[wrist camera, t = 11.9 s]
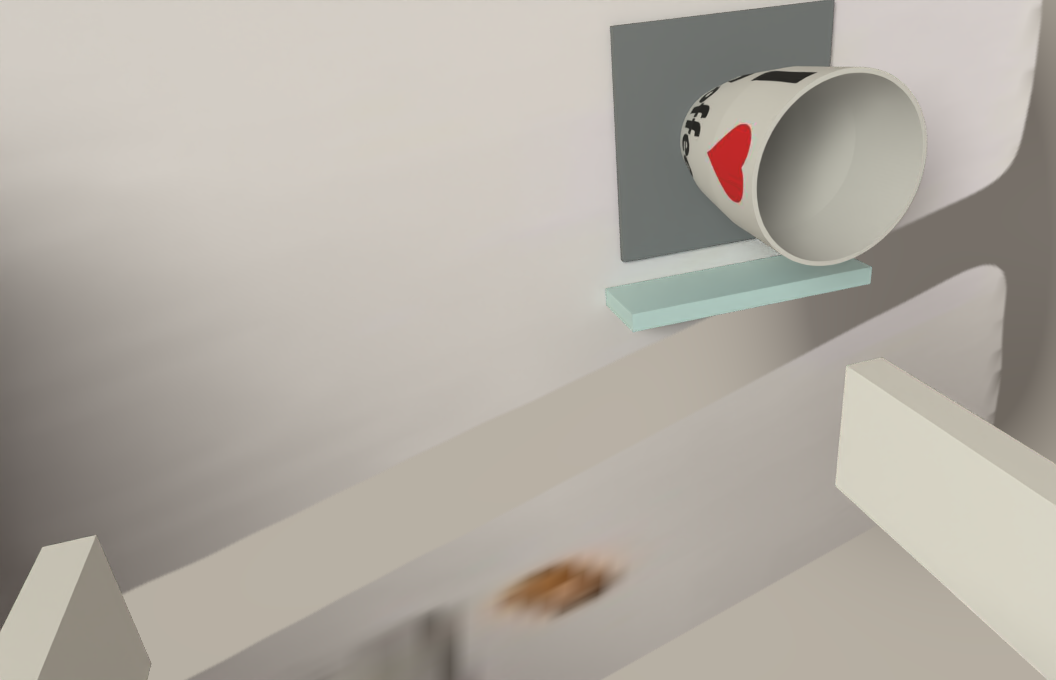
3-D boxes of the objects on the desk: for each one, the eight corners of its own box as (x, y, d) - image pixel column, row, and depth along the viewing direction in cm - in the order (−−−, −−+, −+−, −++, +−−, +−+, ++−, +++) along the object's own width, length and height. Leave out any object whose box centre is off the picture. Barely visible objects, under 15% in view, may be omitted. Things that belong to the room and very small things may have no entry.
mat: (621, 260, 42) (623, 262, 41) (610, 26, 37) (613, 26, 36) (814, 224, 44) (818, 226, 44) (829, -1, 39) (834, -1, 39)
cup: (714, 20, 37) (838, 23, 29) (821, 108, 41) (962, 136, 32) (623, 163, 39) (714, 208, 30) (733, 236, 42) (844, 297, 34)
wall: (606, 305, 43) (632, 332, 39) (605, 288, 42) (632, 314, 39) (826, 262, 45) (870, 283, 42) (827, 246, 45) (872, 266, 41)
